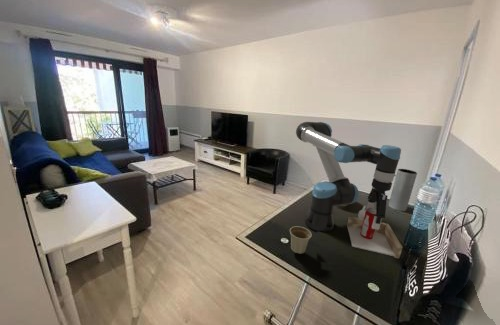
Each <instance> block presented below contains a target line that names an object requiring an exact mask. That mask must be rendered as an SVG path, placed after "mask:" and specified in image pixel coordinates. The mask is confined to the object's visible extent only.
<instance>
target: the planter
mask: <svg viewBox="0 0 500 325" xmlns="http://www.w3.org/2000/svg"><path fill="white" fill-rule="evenodd" d="M395 175H396V176H395V177H394V183H393V184H392V186H393V187H392V188H391V194H390V197H389V200H388V206H389V207H390V208H391V209H393V210H396V211H400V212H405V211H407V210H408V205H409V202H410V199H411V196H412V194H413V193H412V192H413V189H414V185H415V182H416V178H417V175H418V172H416V171H414V170H411V169H406V168H398V169H397V171H396V173H395Z"/></svg>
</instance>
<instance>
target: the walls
mask: <svg viewBox="0 0 500 325" xmlns="http://www.w3.org/2000/svg"><path fill="white" fill-rule="evenodd" d="M363 220H364V219H361V218H359V217H355V216H351V215H349V216H348V220H347V224H346V227H347V226H348V227H353V228H358V229H361V228H362V224H363ZM375 232H377V233H382V234H384V236H385V238H386V240H387V242H388V244H389V246H390V247H391V249H392V251H393V253H394V255H395V256H393V258H395V259H400V257H401V254H402V251H403V248H404V247H403V245H402V243H401V242H400V240H399V238H398V237H397V236H396V234H395V232H394V231H393V229H392V227H391V225H390V224H389V223H387V222H386V223H385V222H382V221H381V224H380V227H379V230H377V229H375Z"/></svg>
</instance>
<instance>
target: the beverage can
mask: <svg viewBox="0 0 500 325" xmlns="http://www.w3.org/2000/svg"><path fill="white" fill-rule="evenodd" d="M366 209H367V208H366ZM366 209H365V210H366ZM374 215H376V208H368V209H367V210H366V212H365V216H364V220H363V224H362V228H361V232H360V235H361V236H362V237H363V238H365V239H368V240H370V239H372V238H373V236H374V232H375V229H372V224H373V221H374V217H375V216H374Z"/></svg>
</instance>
